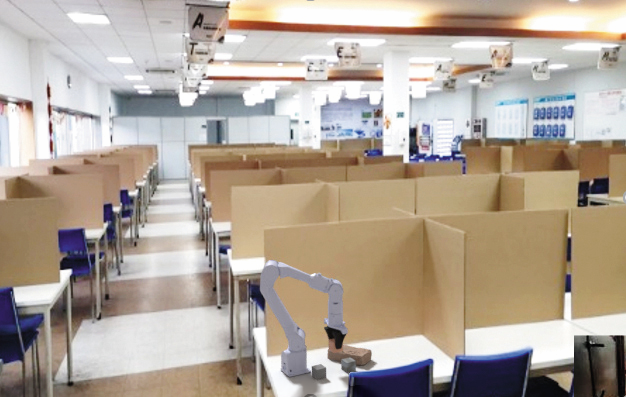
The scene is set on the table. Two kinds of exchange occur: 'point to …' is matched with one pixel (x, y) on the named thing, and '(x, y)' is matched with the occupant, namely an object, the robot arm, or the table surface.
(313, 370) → the gray block
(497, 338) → the table surface
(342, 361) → the slate block
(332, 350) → the terracotta block
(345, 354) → the brick
